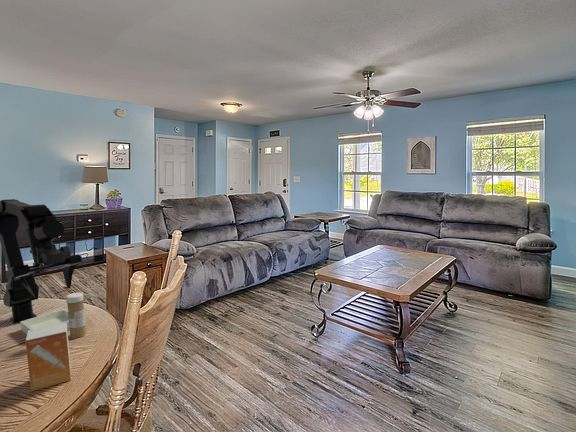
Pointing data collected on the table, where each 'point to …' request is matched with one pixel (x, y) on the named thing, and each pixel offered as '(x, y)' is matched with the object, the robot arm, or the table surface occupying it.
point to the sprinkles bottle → (76, 315)
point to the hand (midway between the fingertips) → (53, 292)
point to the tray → (46, 320)
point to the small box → (48, 356)
